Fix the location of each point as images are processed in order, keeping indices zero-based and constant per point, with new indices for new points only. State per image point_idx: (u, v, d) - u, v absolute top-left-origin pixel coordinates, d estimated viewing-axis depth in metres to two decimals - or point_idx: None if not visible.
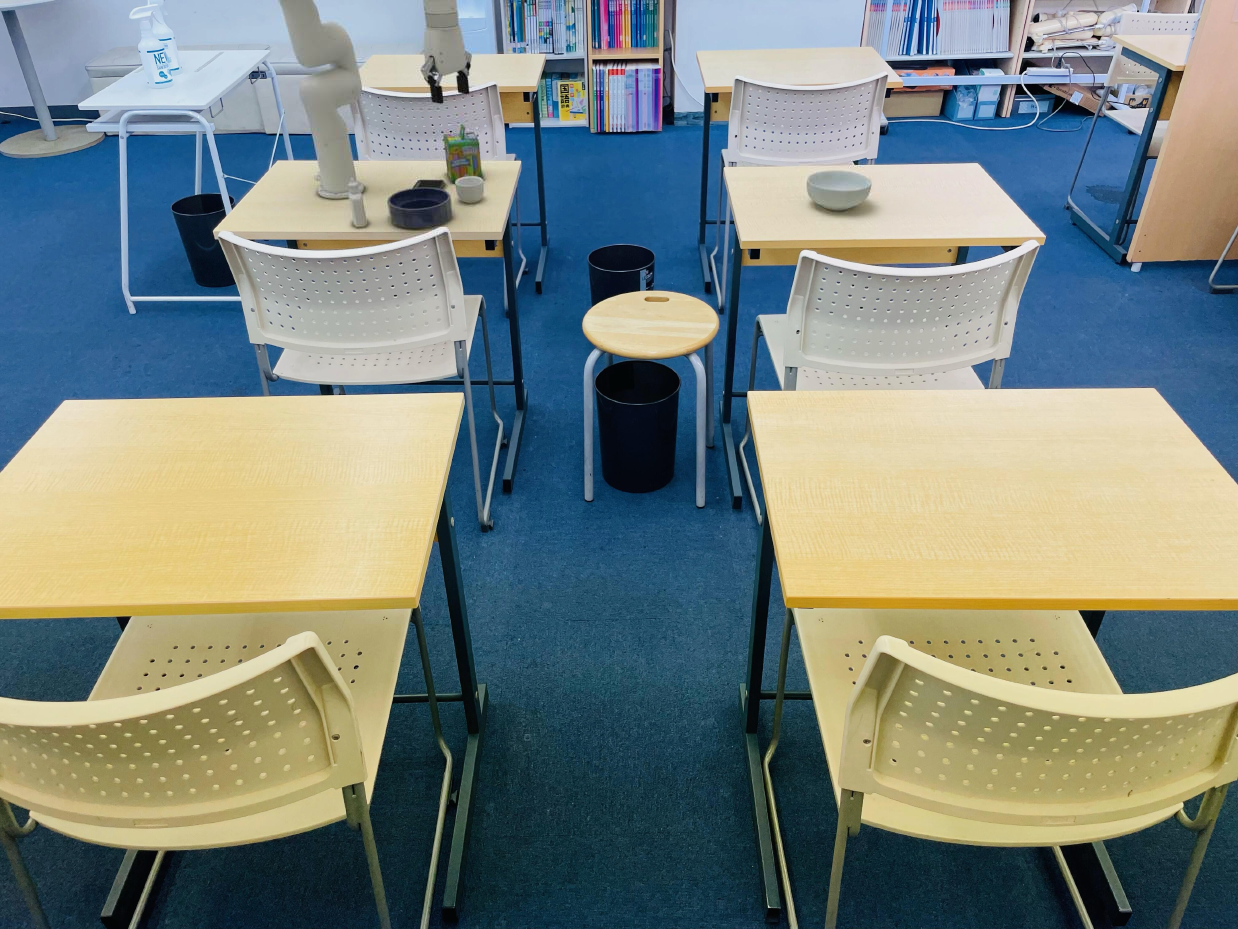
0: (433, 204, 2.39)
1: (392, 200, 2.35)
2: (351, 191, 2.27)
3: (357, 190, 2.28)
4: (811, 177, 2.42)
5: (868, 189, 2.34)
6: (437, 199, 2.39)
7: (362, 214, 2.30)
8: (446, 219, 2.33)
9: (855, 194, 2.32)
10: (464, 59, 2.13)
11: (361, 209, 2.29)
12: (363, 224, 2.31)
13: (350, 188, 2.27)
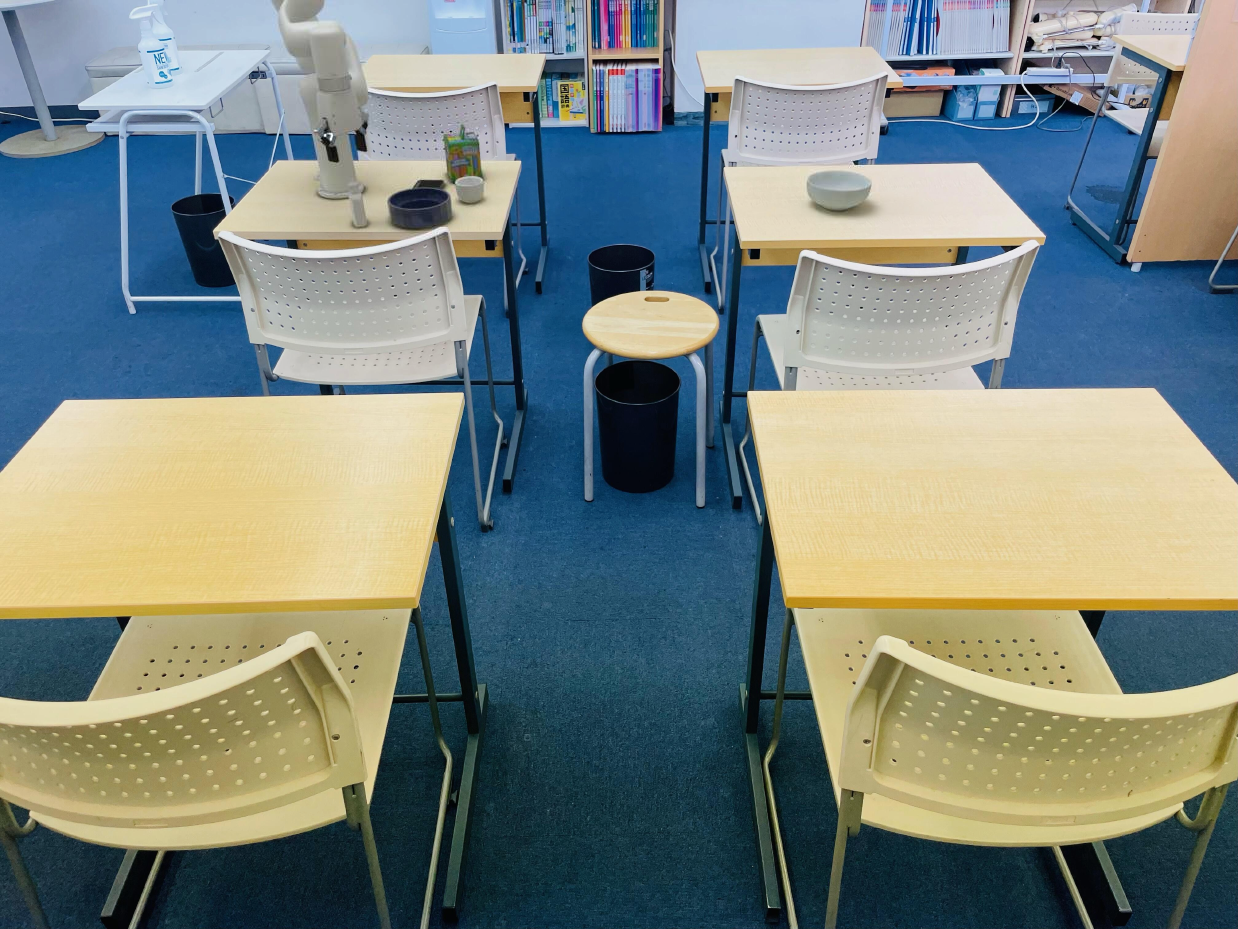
0: (433, 204, 2.39)
1: (392, 200, 2.35)
2: (351, 191, 2.27)
3: (357, 190, 2.28)
4: (811, 177, 2.42)
5: (868, 189, 2.34)
6: (437, 199, 2.39)
7: (362, 214, 2.30)
8: (446, 219, 2.33)
9: (855, 194, 2.32)
10: (359, 119, 2.20)
11: (361, 209, 2.29)
12: (363, 224, 2.31)
13: (350, 188, 2.27)
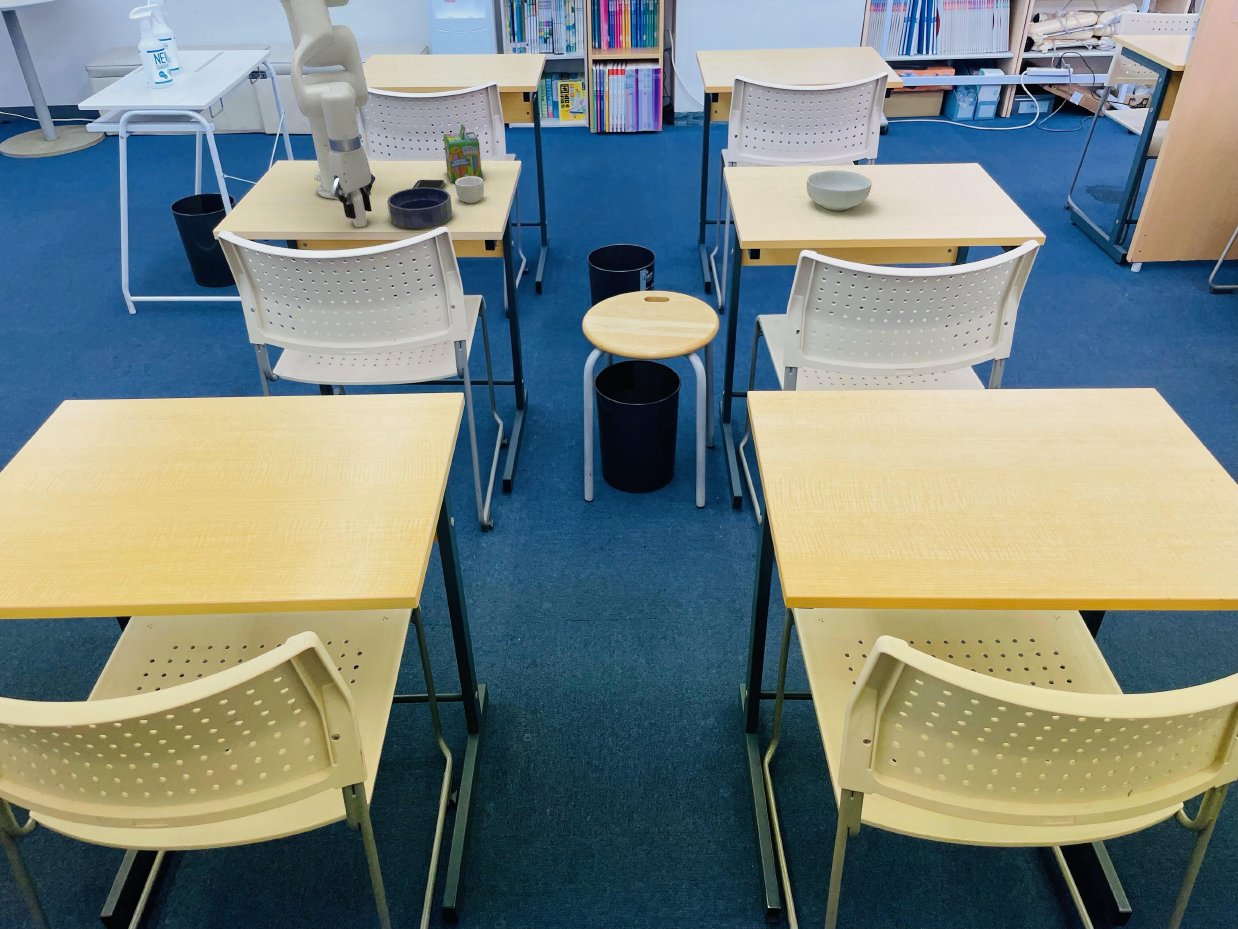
0: (433, 204, 2.39)
1: (392, 200, 2.35)
2: None
3: (357, 190, 2.28)
4: (811, 177, 2.42)
5: (868, 189, 2.34)
6: (437, 199, 2.39)
7: (362, 214, 2.30)
8: (446, 219, 2.33)
9: (855, 194, 2.32)
10: (369, 175, 2.29)
11: (361, 209, 2.29)
12: (363, 224, 2.31)
13: None
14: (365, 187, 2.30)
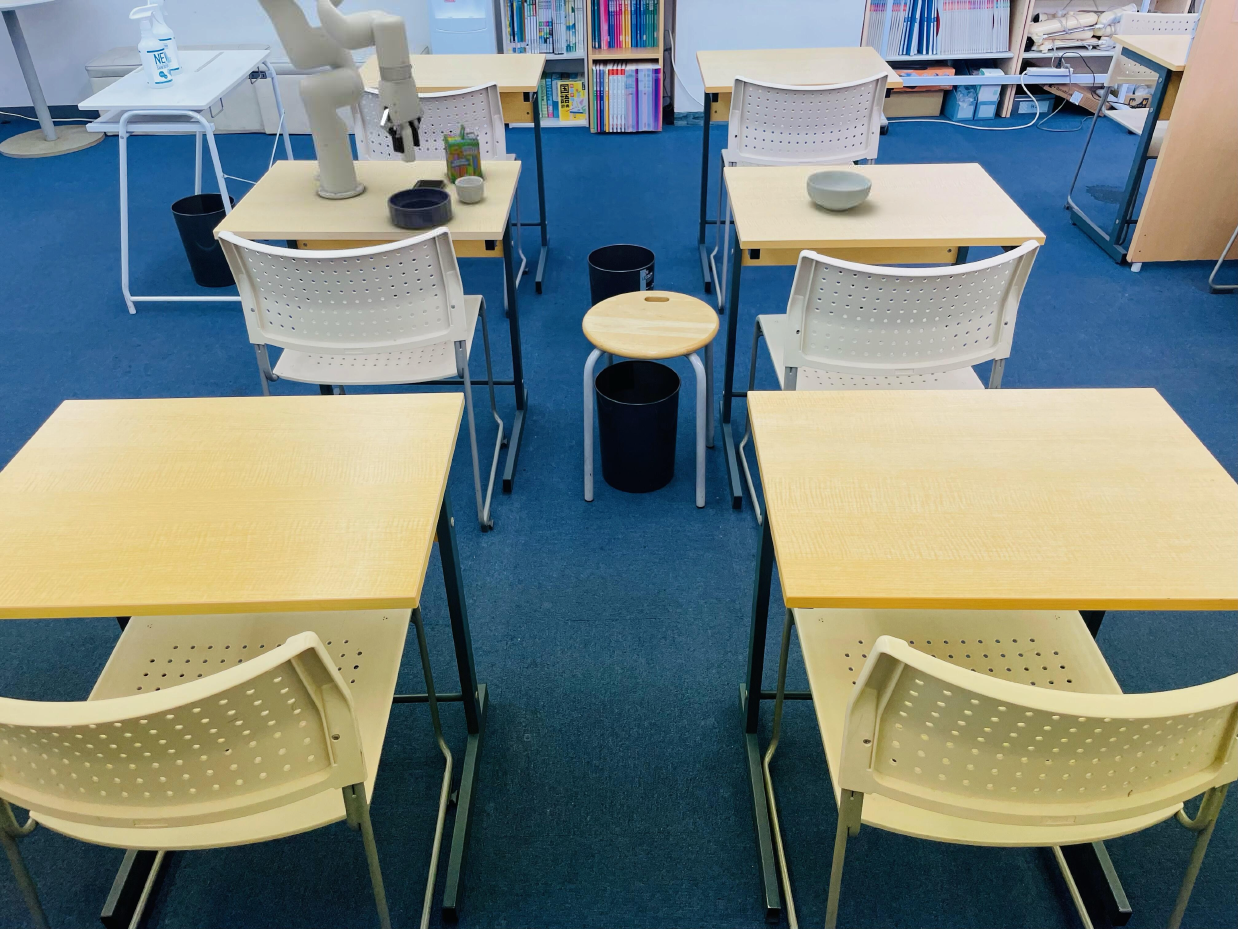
0: (433, 204, 2.39)
1: (392, 200, 2.35)
2: None
3: (406, 123, 2.21)
4: (811, 177, 2.42)
5: (868, 189, 2.34)
6: (437, 199, 2.39)
7: (411, 148, 2.23)
8: (446, 219, 2.33)
9: (855, 194, 2.32)
10: (418, 108, 2.22)
11: (410, 143, 2.22)
12: (412, 159, 2.24)
13: None
14: (414, 120, 2.23)
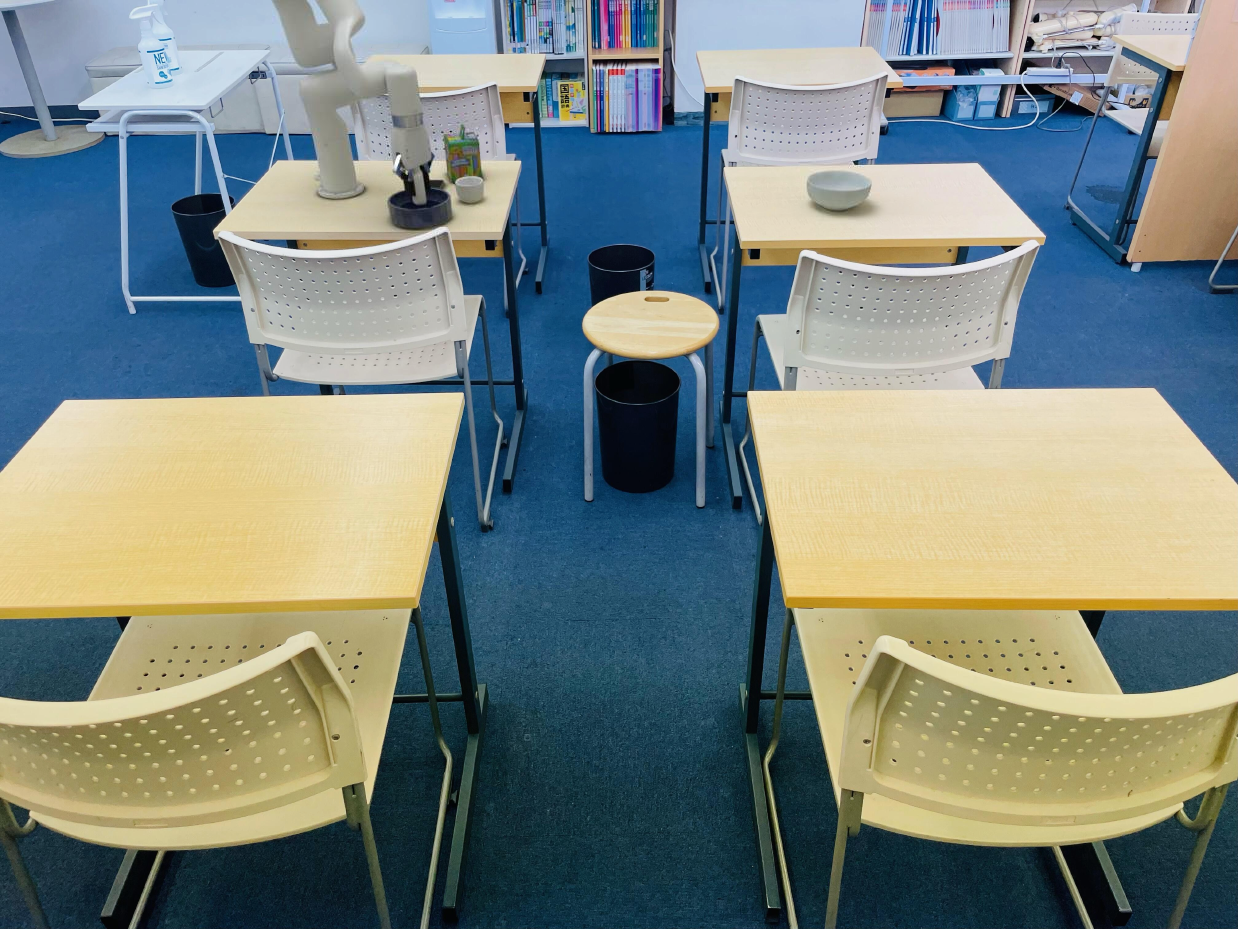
0: (433, 204, 2.39)
1: (392, 200, 2.35)
2: None
3: (418, 167, 2.28)
4: (811, 177, 2.42)
5: (868, 189, 2.34)
6: (437, 199, 2.39)
7: (422, 191, 2.30)
8: (446, 219, 2.33)
9: (855, 194, 2.32)
10: (429, 153, 2.28)
11: (421, 186, 2.29)
12: (423, 202, 2.31)
13: None
14: (425, 164, 2.30)
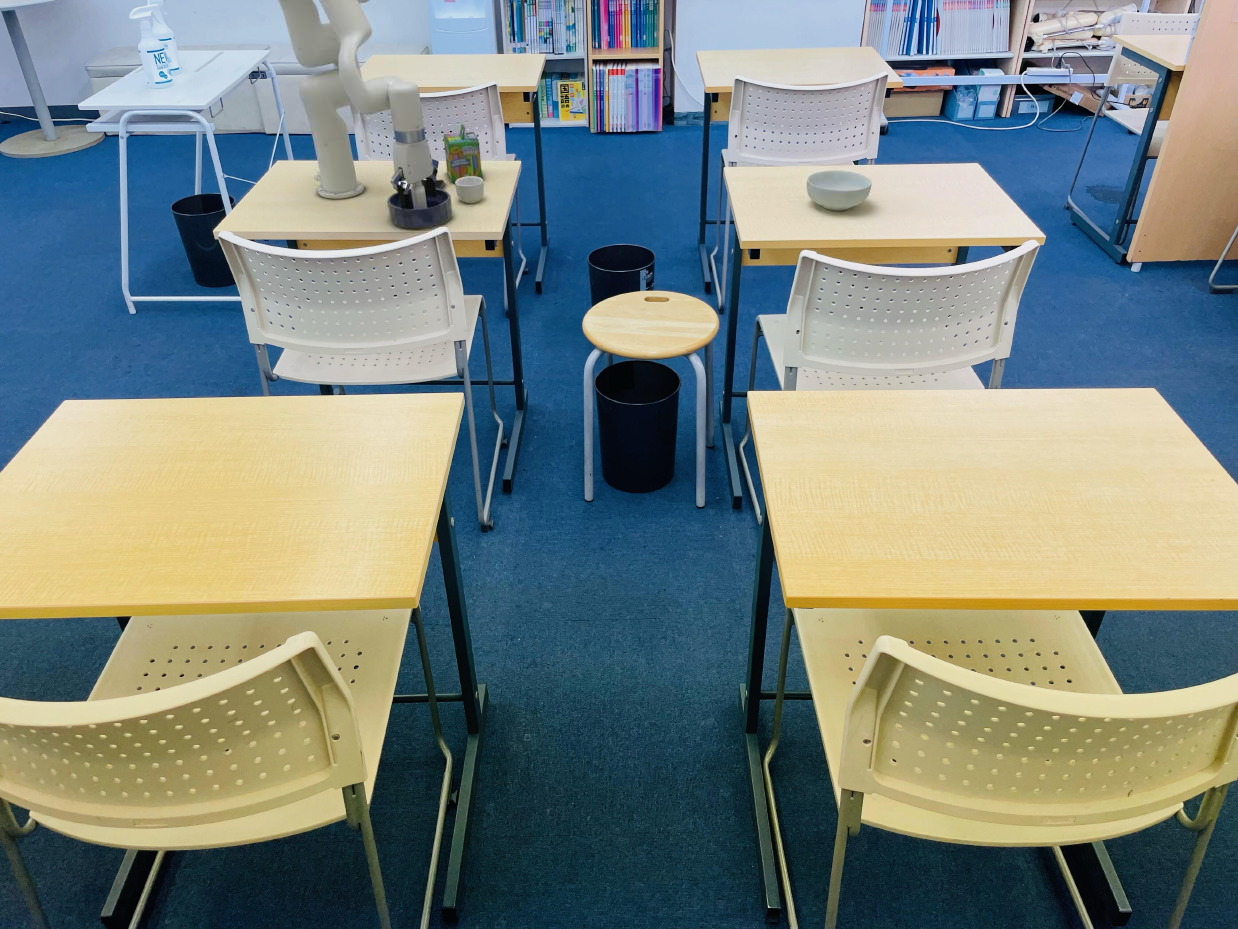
0: (433, 204, 2.39)
1: (392, 200, 2.35)
2: (414, 184, 2.30)
3: (420, 183, 2.30)
4: (811, 177, 2.42)
5: (868, 189, 2.34)
6: (437, 199, 2.39)
7: (424, 206, 2.32)
8: (446, 219, 2.33)
9: (855, 194, 2.32)
10: (431, 167, 2.31)
11: (423, 201, 2.31)
12: None
13: None
14: None
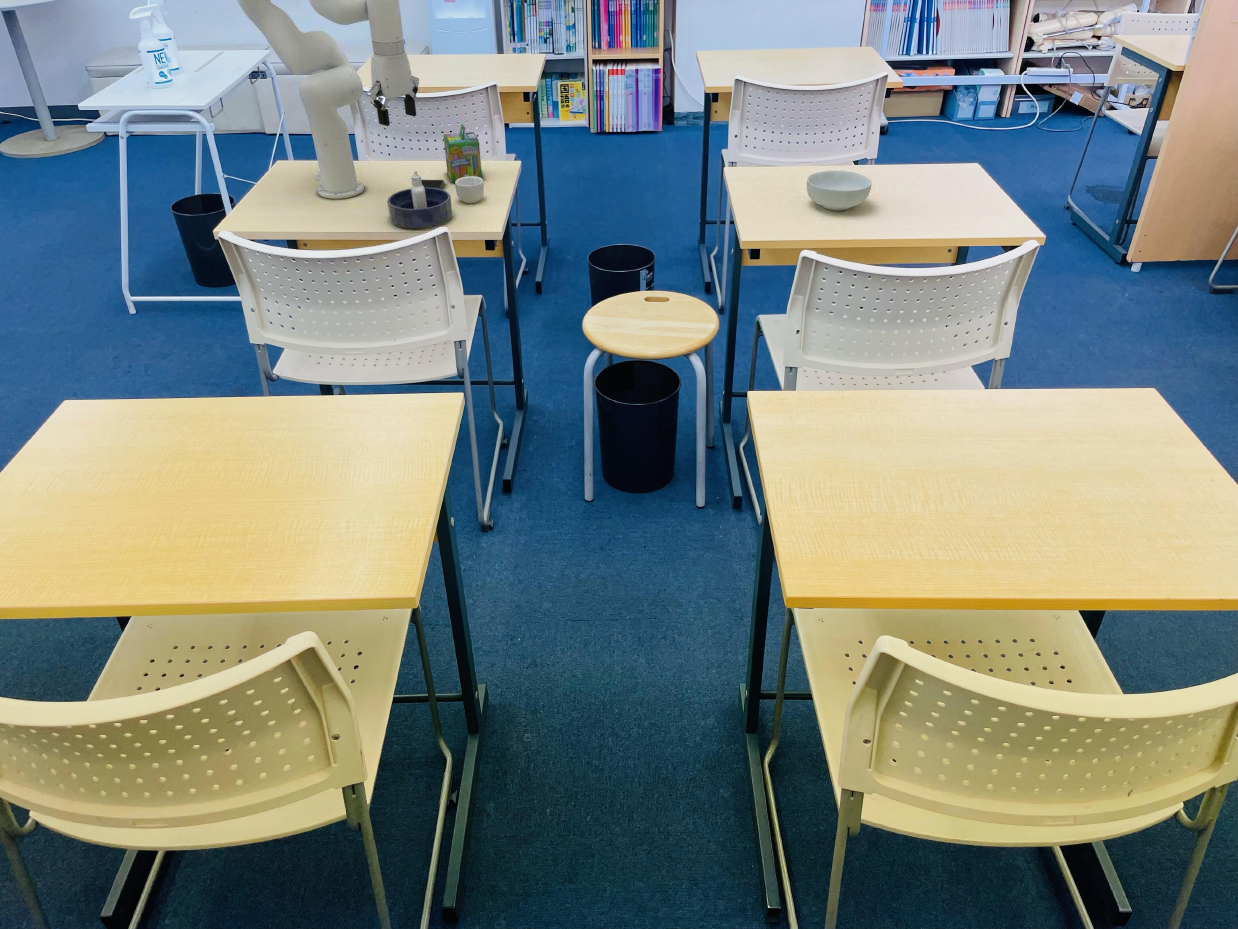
0: (433, 204, 2.39)
1: (392, 200, 2.35)
2: (414, 184, 2.30)
3: (420, 183, 2.30)
4: (811, 177, 2.42)
5: (868, 189, 2.34)
6: (437, 199, 2.39)
7: (424, 206, 2.32)
8: (446, 219, 2.33)
9: (855, 194, 2.32)
10: (411, 84, 2.24)
11: (423, 201, 2.31)
12: None
13: (413, 181, 2.29)
14: (409, 92, 2.25)
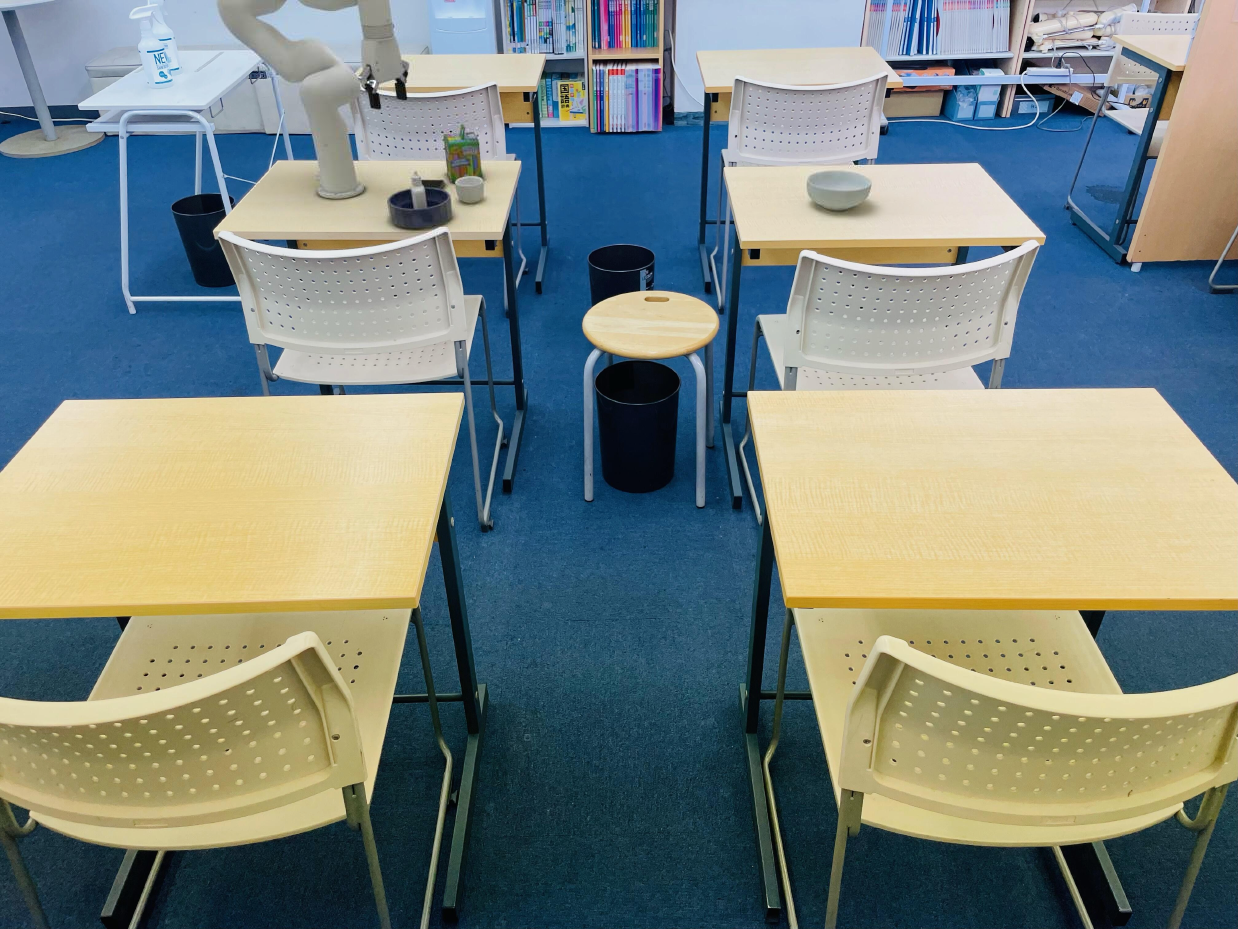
0: (433, 204, 2.39)
1: (392, 200, 2.35)
2: (414, 184, 2.30)
3: (420, 183, 2.30)
4: (811, 177, 2.42)
5: (868, 189, 2.34)
6: (437, 199, 2.39)
7: (424, 206, 2.32)
8: (446, 219, 2.33)
9: (855, 194, 2.32)
10: (401, 68, 2.27)
11: (423, 201, 2.31)
12: None
13: (413, 181, 2.29)
14: (400, 76, 2.28)
